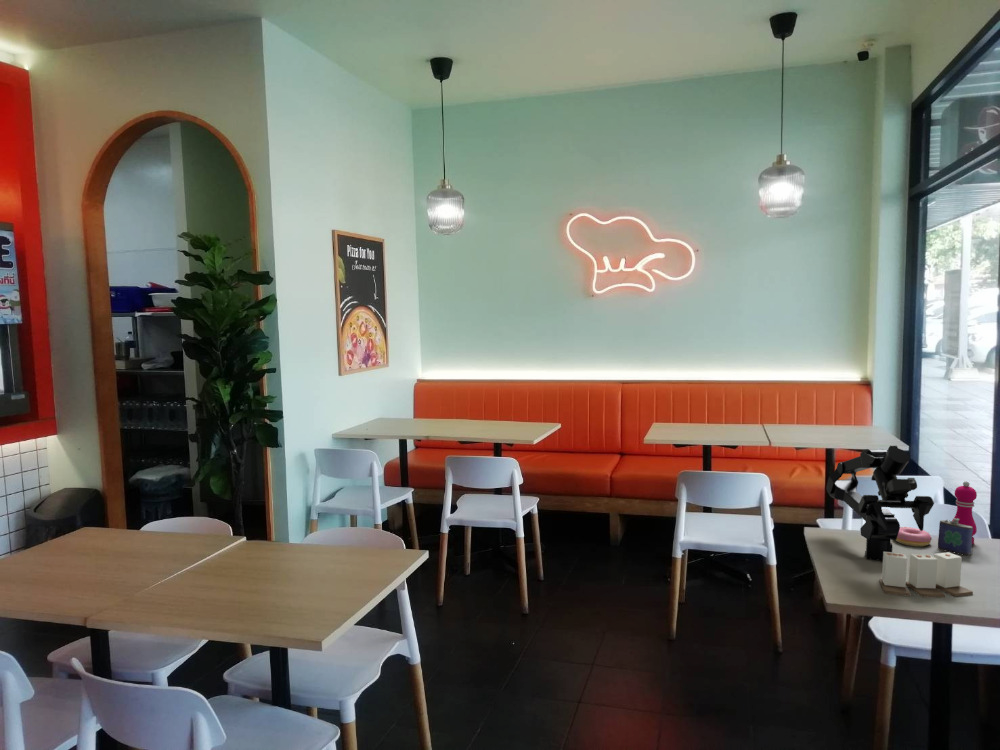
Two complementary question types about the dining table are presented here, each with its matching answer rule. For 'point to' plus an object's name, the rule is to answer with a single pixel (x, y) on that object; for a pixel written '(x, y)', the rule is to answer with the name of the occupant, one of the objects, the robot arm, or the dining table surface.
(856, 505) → the robot arm
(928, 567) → the two-bump white pillar
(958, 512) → the pepper mill
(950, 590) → the tile tracks
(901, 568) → the three-dot tile
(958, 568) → the white pillar with knob
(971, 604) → the dining table surface
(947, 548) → the flask
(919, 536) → the doughnut
